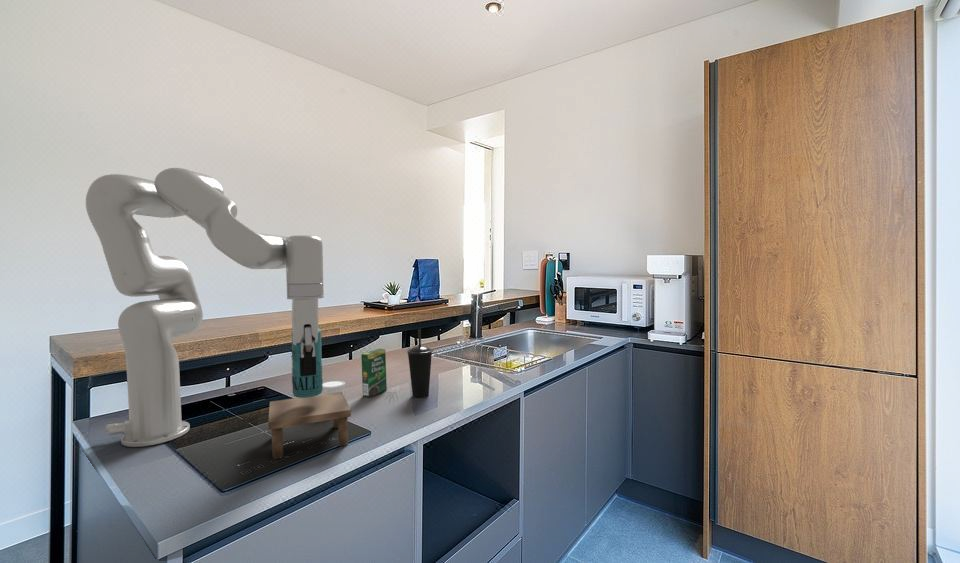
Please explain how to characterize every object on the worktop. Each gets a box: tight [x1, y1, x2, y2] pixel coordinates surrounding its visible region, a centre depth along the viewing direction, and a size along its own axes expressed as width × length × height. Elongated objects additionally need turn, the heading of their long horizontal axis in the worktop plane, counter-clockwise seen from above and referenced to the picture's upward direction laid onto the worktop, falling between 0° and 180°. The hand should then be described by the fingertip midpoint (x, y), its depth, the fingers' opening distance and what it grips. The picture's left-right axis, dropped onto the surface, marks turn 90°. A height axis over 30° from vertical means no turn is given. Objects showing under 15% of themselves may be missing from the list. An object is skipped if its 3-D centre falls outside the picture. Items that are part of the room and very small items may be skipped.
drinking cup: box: [406, 328, 434, 399], centre depth 124 cm, size 8×8×20 cm
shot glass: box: [319, 380, 346, 398], centre depth 113 cm, size 7×7×7 cm
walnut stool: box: [267, 392, 352, 460], centre depth 93 cm, size 16×14×8 cm
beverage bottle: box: [290, 326, 324, 398], centre depth 92 cm, size 6×7×20 cm
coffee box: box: [361, 348, 388, 398], centre depth 126 cm, size 8×3×13 cm, turn 150°
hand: (307, 370), depth 93 cm, fingers closed on beverage bottle, 6 cm apart
